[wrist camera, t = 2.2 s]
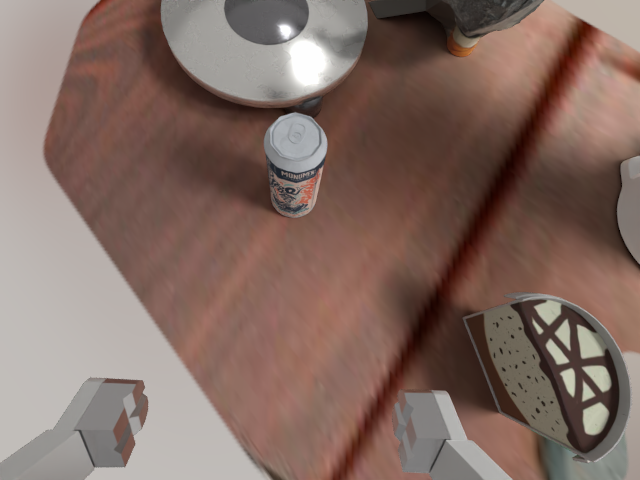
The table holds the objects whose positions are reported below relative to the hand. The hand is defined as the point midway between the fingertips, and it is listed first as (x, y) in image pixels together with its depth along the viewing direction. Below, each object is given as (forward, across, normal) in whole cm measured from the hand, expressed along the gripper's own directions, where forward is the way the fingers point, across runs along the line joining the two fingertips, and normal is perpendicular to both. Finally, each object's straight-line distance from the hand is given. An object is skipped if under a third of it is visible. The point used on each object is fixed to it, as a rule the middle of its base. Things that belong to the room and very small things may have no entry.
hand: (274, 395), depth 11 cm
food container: (+16, -22, +15) cm, 32 cm away
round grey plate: (+40, +4, -9) cm, 42 cm away
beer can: (+27, 0, +5) cm, 27 cm away
